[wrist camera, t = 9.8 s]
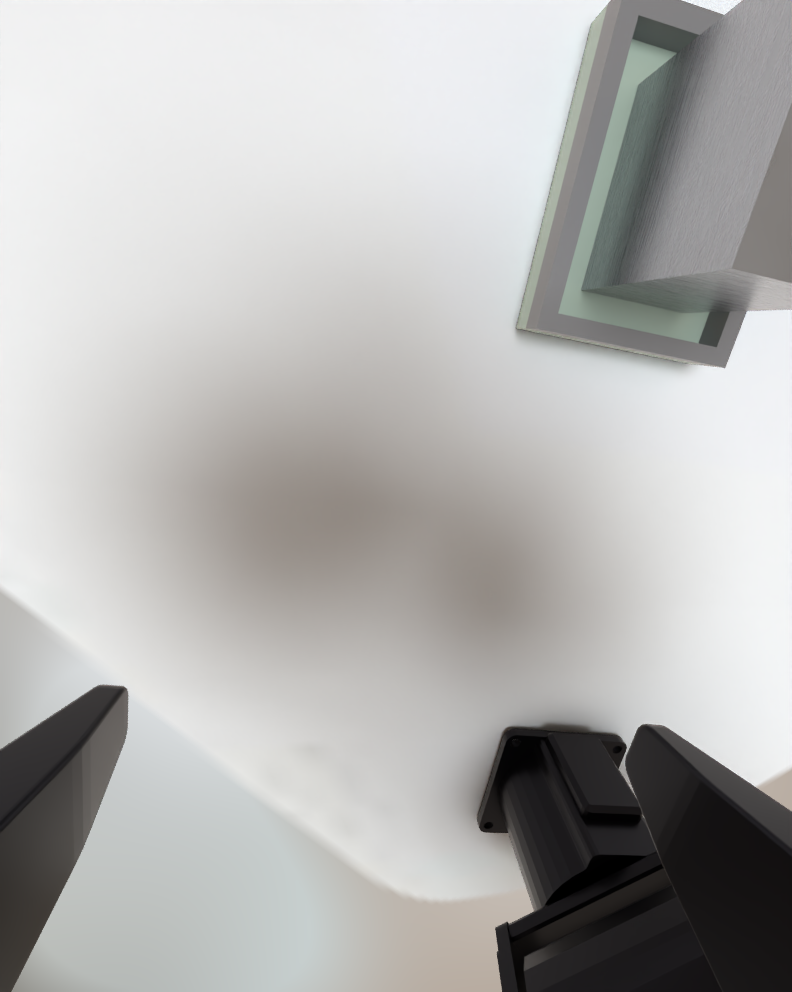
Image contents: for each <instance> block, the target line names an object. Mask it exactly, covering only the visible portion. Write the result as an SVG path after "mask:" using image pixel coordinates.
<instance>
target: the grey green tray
mask: <svg viewBox="0 0 792 992" xmlns="http://www.w3.org/2000/svg"><path fill="white" fill-rule="evenodd" d="M723 16H724V15H723V14H720V13H717V12H714V11H711V10H708V9H705V8H702V7H699V6H696V5H693V4H690V3H687V2H684V1H681V0H611V1H610V2H609V3H608V4H607V6H606V7H605V8H604V9H603V10H602V12H601V13H600V14H599V15H598V16H597V18H596V19H595V20H594V21H593V22H592V24H591V27H590V32H589V36H588V40H587V44H586V48H585V52H584V56H583V60H582V64H581V68H580V72H579V76H578V80H577V84H576V88H575V92H574V96H573V100H572V104H571V108H570V112H569V116H568V121H567V125H566V129H565V133H564V137H563V141H562V145H561V149H560V153H559V157H558V161H557V165H556V169H555V173H554V177H553V181H552V185H551V189H550V193H549V197H548V201H547V205H546V210H545V214H544V218H543V222H542V226H541V230H540V234H539V238H538V242H537V246H536V250H535V254H534V258H533V262H532V266H531V270H530V274H529V278H528V282H527V286H526V290H525V294H524V298H523V303H522V307H521V311H520V315H519V319H518V323H517V327H516V328H517V329H522V330H527V331H532V332H536V333H541V334H546V335H551V336H556V337H561V338H566V339H570V340H575V341H580V342H585V343H590V344H595V345H600V346H604V347H609V348H614V349H619V350H624V351H629V352H634V353H638V354H643V355H648V356H653V357H658V358H663V359H668V360H672V361H677V362H682V363H687V364H695V365H704V366H713V367H722V368H725V367H726V364H727V362H728V359H729V356H730V354H731V351H732V349H733V346H734V343H735V341H736V338H737V335H738V333H739V330H740V328H741V325H742V322H743V320H744V317H745V314H746V312H747V311H732V312H703V313H680V312H675V311H671V310H666V309H662V308H658V307H653V306H649V305H644V304H640V303H635V302H631V301H626V300H622V299H617V298H613V297H609V296H604V295H600V294H595V293H591V292H586V291H582V290H581V288H582V284H583V281H584V277H585V273H586V270H587V266H588V263H589V259H590V255H591V252H592V248H593V245H594V241H595V238H596V234H597V230H598V227H599V223H600V220H601V216H602V213H603V209H604V205H605V202H606V198H607V195H608V191H609V188H610V184H611V180H612V177H613V173H614V170H615V166H616V163H617V159H618V155H619V152H620V148H621V145H622V141H623V138H624V134H625V130H626V127H627V123H628V120H629V116H630V112H631V109H632V105H633V102H634V98H635V95H636V91H637V87H638V84H640V83H641V82H642V81H643V80H645V79H646V78H647V77H648V76H649V75H651V74H652V73H653V72H654V71H656V70H657V69H658V68H659V67H661V66H662V65H663V64H664V63H666V62H667V61H668V60H669V59H671V58H672V57H673V56H674V55H676V54H677V53H678V52H679V51H681V50H682V49H683V48H684V47H685V46H687V45H688V44H689V43H690V42H692V41H693V40H694V39H695V38H697V37H698V36H699V35H700V34H702V33H703V32H704V31H705V30H707V29H708V28H709V27H710V26H712V25H713V24H714V23H715V22H716V21H718V20H719V19H720V18H721V17H723Z"/></svg>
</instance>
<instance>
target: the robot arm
mask: <svg viewBox="0 0 792 992" xmlns="http://www.w3.org/2000/svg"><path fill="white" fill-rule="evenodd" d="M127 728H128V691H127V689H126V688H125V687H124V686H114V685H99V686H96V687H94V688H93V689H91V690H90V691H88V692H87V693H85V694H84V695H82V696H81V697H79V698H78V699H76V700H75V701H73V702H71V703H70V704H68V705H67V706H65V707H64V708H62V709H61V710H59V711H58V712H56V713H55V714H53V715H52V716H50V717H49V718H47V719H46V720H44V721H43V722H41V723H40V724H38V725H36V726H35V727H34V728H32V729H30V730H29V731H27V732H26V733H24V734H23V735H21V736H20V737H18V738H17V739H15V740H14V741H12V742H11V743H9V744H8V745H6V746H5V747H3V748H2V749H0V992H11V991H12V989H13V987H14V985H15V983H16V981H17V979H18V977H19V975H20V974H21V972H22V970H23V968H24V966H25V964H26V962H27V960H28V958H29V956H30V953H31V952H32V950H33V948H34V946H35V944H36V942H37V940H38V938H39V936H40V934H41V932H42V930H43V928H44V926H45V924H46V922H47V920H48V918H49V916H50V914H51V912H52V910H53V908H54V906H55V904H56V902H57V900H58V898H59V896H60V894H61V892H62V890H63V888H64V886H65V884H66V882H67V880H68V878H69V876H70V874H71V872H72V870H73V868H74V866H75V864H76V862H77V860H78V858H79V856H80V854H81V852H82V849H83V847H84V845H85V842H86V840H87V837H88V835H89V833H90V830H91V828H92V825H93V822H94V820H95V817H96V815H97V812H98V810H99V807H100V804H101V802H102V799H103V797H104V794H105V791H106V789H107V786H108V784H109V781H110V778H111V776H112V773H113V771H114V768H115V766H116V763H117V760H118V758H119V755H120V752H121V750H122V748H123V745H124V742H125V739H126V734H127ZM514 739H516V740H514ZM512 740H514V741H512ZM626 748H627V747H626V744H625V743H624V741H623V740H622V738H621V737H619V736H613V735H599V734H584V733H569V732H555V731H540V730H525V729H511V730H508V731H507V732H506V733H505V734H504V736H503V739H502V742H501V745H500V748H499V751H498V754H497V758H496V761H495V764H494V767H493V770H492V773H491V776H490V780H489V783H488V786H487V789H486V792H485V795H484V799H483V802H482V805H481V808H480V811H479V814H478V818H477V822H478V825H479V828H480V830H481V831H483V832H490V833H508V834H509V837H510V840H511V843H512V846H513V849H514V852H515V855H516V858H517V861H518V864H519V867H520V870H521V873H522V876H523V879H524V882H525V885H526V888H527V891H528V894H529V897H530V900H531V903H532V906H533V909H534V912H532V913H530V914H528V915H526V916H524V917H522V918H520V919H518V920H516V921H514V922H512V923H510V924H509V923H508V922H506V923H504V924H502V925H500V926H498V927H496V928H495V930H496V937H497V944H498V952H497V958H498V964H499V972H500V979H501V986H502V992H792V811H790V810H788V809H787V808H785V807H784V806H783V805H781V804H780V803H778V802H777V801H775V800H774V799H772V798H771V797H769V796H768V795H766V794H765V793H763V792H762V791H760V790H759V789H757V788H756V787H754V786H753V785H752V784H750V783H749V782H747V781H746V780H744V779H743V778H741V777H740V776H738V775H737V774H735V773H734V772H732V771H731V770H729V769H728V768H726V767H725V766H723V765H722V764H720V763H719V762H717V761H716V760H714V759H713V758H711V757H710V756H708V755H707V754H705V753H704V752H702V751H701V750H699V749H698V748H697V747H695V746H694V745H692V744H691V743H689V742H688V741H686V740H685V739H683V738H682V737H680V736H679V735H677V734H676V733H674V732H673V731H671V730H670V729H668V728H667V727H665V726H662V725H652V724H643V725H641V726H640V727H639V728H638V729H637V732H636V734H635V736H634V739H633V741H632V743H631V746H630V748H629V751H628V753H627V755H626V760H625V766H626V771H627V774H628V777H629V779H630V782H631V785H632V787H633V790H634V793H635V795H636V797H635V795H634V793H633V792H632V790H631V789H630V787H629V785H628V784H627V782H626V781H625V779H624V777H623V776H622V774H621V773H620V771H619V769H618V768H619V766H620V764H621V761H622V759H623V756H624V754H625V752H626ZM643 816H644V817H643Z"/></svg>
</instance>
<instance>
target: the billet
mask: <svg viewBox="0 0 792 992" xmlns="http://www.w3.org/2000/svg"><path fill="white" fill-rule="evenodd" d="M581 290H582V291H586V292H591V293H595V294H600V295H604V296H609V297H613V298H617V299H622V300H626V301H631V302H635V303H640V304H644V305H649V306H653V307H658V308H662V309H666V310H671V311H675V312H680V313H703V312H732V311H761V310H790V309H792V0H743V1H741V2H740V3H739V4H738V5H736V6H735V7H734V8H733V9H731V10H730V11H729V12H728V13H726V14H725V15H724V16H723V17H721V18H720V19H719V20H718V21H716V22H715V23H714V24H713V25H712V26H710V27H709V28H708V29H707V30H705V31H704V32H703V33H702V34H700V35H699V36H698V37H697V38H695V39H694V40H693V41H692V42H690V43H689V44H688V45H687V46H685V47H684V48H683V49H682V50H681V51H679V52H678V53H677V54H676V55H674V56H673V57H672V58H671V59H669V60H668V61H667V62H666V63H664V64H663V65H662V66H661V67H659V68H658V69H657V70H656V71H654V72H653V73H652V74H651V75H649V76H648V77H647V78H646V79H645V80H643V81H642V82H641V83H640V84H638V87H637V91H636V95H635V98H634V102H633V105H632V109H631V112H630V116H629V120H628V123H627V127H626V130H625V134H624V138H623V141H622V145H621V148H620V152H619V155H618V159H617V163H616V166H615V170H614V173H613V177H612V180H611V184H610V188H609V191H608V195H607V198H606V202H605V205H604V209H603V213H602V216H601V220H600V223H599V227H598V230H597V234H596V238H595V241H594V245H593V248H592V252H591V255H590V259H589V263H588V266H587V270H586V273H585V277H584V281H583V284H582V288H581Z"/></svg>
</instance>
